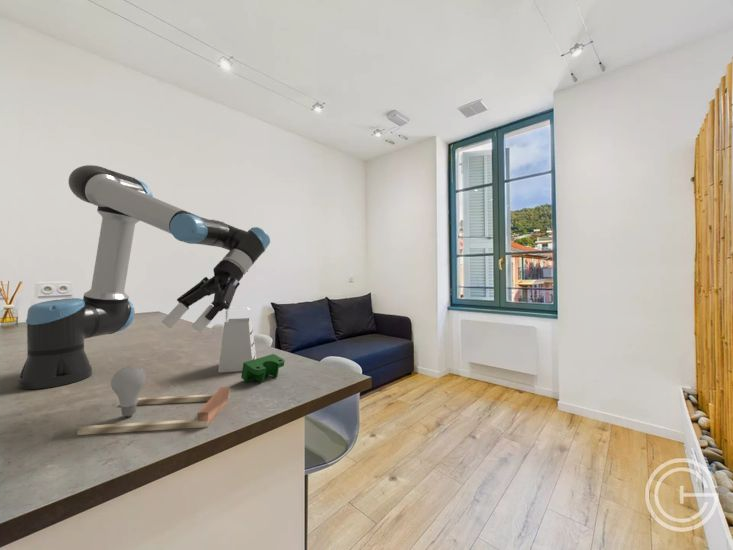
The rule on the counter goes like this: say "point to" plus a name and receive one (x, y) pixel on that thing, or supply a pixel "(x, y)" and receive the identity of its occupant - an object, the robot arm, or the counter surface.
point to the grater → (237, 343)
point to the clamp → (261, 368)
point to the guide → (203, 420)
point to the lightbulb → (128, 387)
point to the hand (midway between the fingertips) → (180, 327)
